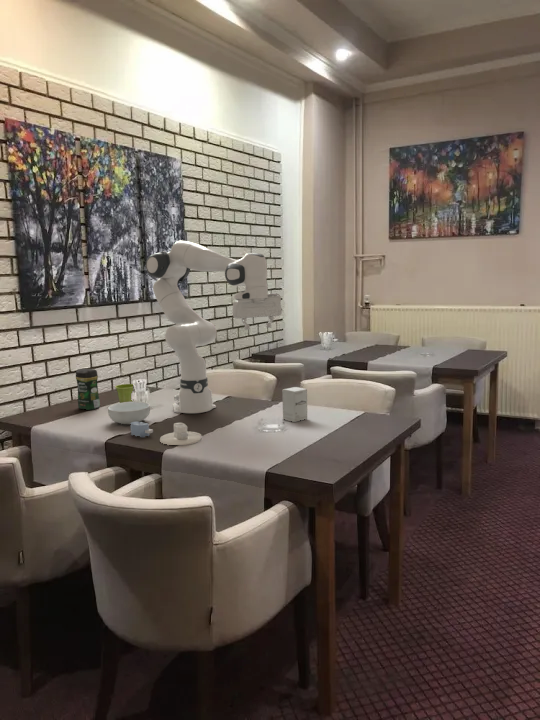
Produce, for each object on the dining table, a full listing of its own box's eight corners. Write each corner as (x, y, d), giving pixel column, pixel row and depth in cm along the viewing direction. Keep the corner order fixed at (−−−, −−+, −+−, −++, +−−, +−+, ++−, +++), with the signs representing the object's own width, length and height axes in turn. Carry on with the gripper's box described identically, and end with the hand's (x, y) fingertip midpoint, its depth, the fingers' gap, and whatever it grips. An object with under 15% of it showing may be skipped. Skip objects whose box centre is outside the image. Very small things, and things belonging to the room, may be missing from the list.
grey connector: (172, 435, 214) (172, 423, 213) (182, 433, 216) (182, 422, 215) (180, 442, 205) (179, 430, 204) (190, 440, 206) (189, 428, 206)
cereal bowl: (100, 425, 235) (98, 408, 234) (127, 416, 250) (126, 400, 248) (132, 429, 227) (131, 412, 226) (159, 419, 242) (158, 403, 241)
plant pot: (141, 402, 274) (139, 384, 273) (126, 407, 266) (125, 388, 265) (126, 400, 279) (125, 383, 278) (112, 405, 271) (110, 386, 270)
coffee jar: (75, 409, 265) (71, 369, 263) (88, 405, 272) (85, 366, 269) (89, 411, 260) (86, 370, 257) (103, 407, 267) (100, 367, 264)
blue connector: (129, 434, 220) (128, 423, 219) (136, 432, 223) (136, 421, 222) (147, 438, 214) (146, 427, 214) (154, 436, 217) (154, 424, 217)
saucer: (155, 437, 215) (155, 434, 215) (194, 431, 221) (194, 429, 221) (165, 448, 202) (165, 445, 201) (206, 441, 207) (206, 439, 207)
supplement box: (294, 422, 230) (293, 391, 228) (282, 419, 236) (281, 389, 234) (308, 419, 235) (307, 388, 233) (295, 416, 240) (295, 386, 238)
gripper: (277, 292, 238) (278, 326, 240) (230, 294, 230) (231, 329, 232) (283, 292, 232) (284, 327, 234) (235, 295, 224) (237, 330, 226)
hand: (258, 328), depth 233 cm, fingers open, 8 cm apart
